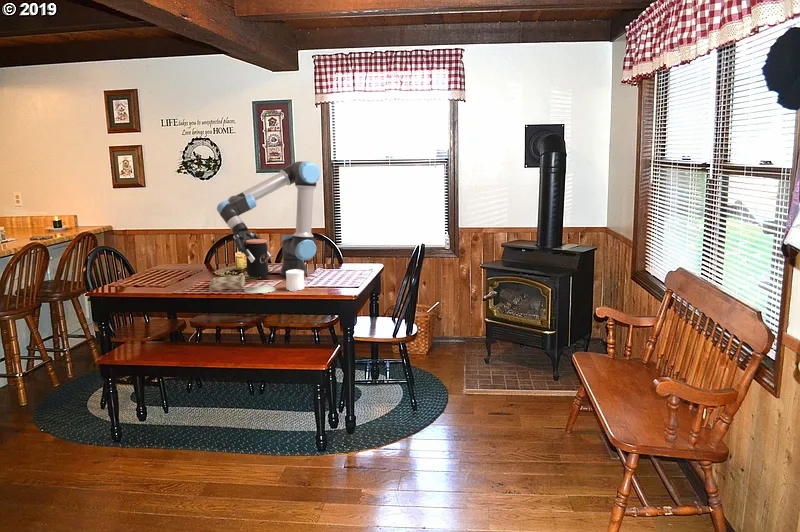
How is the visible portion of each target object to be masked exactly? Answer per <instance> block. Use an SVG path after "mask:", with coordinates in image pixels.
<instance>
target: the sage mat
mask: <svg viewBox="0 0 800 532" xmlns="http://www.w3.org/2000/svg"><path fill="white" fill-rule="evenodd" d="M276 290H277V288H276V287H275V286H268V285H257V286H252V287H251V286H250V287H247V288H244V289H243V292H244V293H245V292H246V293H245V294H249V293H264V294H269V293H268V292H270V293H273V291H274V292H276Z"/></svg>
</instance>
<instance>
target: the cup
mask: <svg viewBox="0 0 800 532" xmlns="http://www.w3.org/2000/svg"><path fill="white" fill-rule="evenodd" d="M285 277H286V279H285V283H286V285H285V287H286V291H287V290H289V291H288V292H298V291H297V290H302V289H304V290H305V275H304V271H303V270H299V269H294V270H288V271H286V276H285ZM302 291H303V290H302Z"/></svg>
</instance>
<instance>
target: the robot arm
mask: <svg viewBox="0 0 800 532" xmlns="http://www.w3.org/2000/svg"><path fill="white" fill-rule="evenodd" d="M320 178H321V171H320V168H319V166H318V165H317V164H316V163H314V162H311V161H307V160H306V161H302V160H301V161H296V162H292V163H291V164H289V165H287V166H285V167H284V168H282V169H280V170H279V173H277V174H275V175H273V176H271V177H269V178H267V179H264V180H263V181H261V182H259V183H257V184H256V185H253V186H250V188H248V189H245V190H243V191H242V192H240V193H238V194H236V195H231V196H230V197H228V199H227V200H225V201H221V202H220V203H218V204H217V207H216V210H217V212H218V214H219V216H220V217H221V218H222V220H223V221H224V222H225V224H226V225H227V226H228V228H229V229H230V230H231V231H232V233H233V236H232V239H233V241H234V242H235V245H236V248H237V251H238V252H239V253H241V254H244V255H245V257H248V259H249V260H250V261H251V263H252V262H253V261H254V260H255V258H254V257H253V255H252V254H251V253H250V251H249V250H248V249H247V250H246V245H247V243H246V240H251V239H262V238H260V236H259V235H257V233H256V231H252V232H249V228H248V226H247V225H246V223H245V222H244V221H243V220H242V218H241V215H243V214H245V213H247V212H248V211H251V210H253V209H254V208H256V207H257V206H258V204H257V201H258V200H259V199H262V198H264V197H266V196H268V195H269V194H272V193H274V192H275V191H277V190H279V189H281V188H283V187H285V186H291V185H292V184H294V186H295V187H296V188H297V192H296V193H297V195H296V196H297V198H296V199H297V200H296V220H295V232H294V233H293V234H289V235H283V236H282V238H281V245H282V246H281V247H282V265H281V267H280V276H283V277H286V271H288V270H294V269H299V270H303V271H304V276H305V275H307V274H308V269H307V267H306V264H305V261H308V260H311V259H312V258H313V257H315V255H316V254H317V245H316V244H315V241H314V240H315V239H314V238H315V237H314V235H313V233H312V226H313V225H312V224H313V207H314V206H313V205H314V204H313V203H314V202H313V201H314V190H315V189H317V182H318V180H320ZM267 253H268V260H269V259H270V258H271V257H272V256H271V253H270V252H269V250H268V249H267Z"/></svg>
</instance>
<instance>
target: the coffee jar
mask: <svg viewBox="0 0 800 532" xmlns="http://www.w3.org/2000/svg"><path fill="white" fill-rule="evenodd" d="M267 243H268V240H267V239H263V238H261V239H252V238H251V239H250V240H246V250H247V249H248V250H249V251H250V253H251V254H252V255H253V257H254V258H255V260H254V261H253V262H252V263H251V261H250V260H249V259H248V257H246V256H245V257H246V258H245V259H246V260H245V261H246V275H247V276H248V277H250V278H261V277H266V276H268V274H269V259H268V253H269V252H268V253H267V250H268V245H267Z"/></svg>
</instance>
